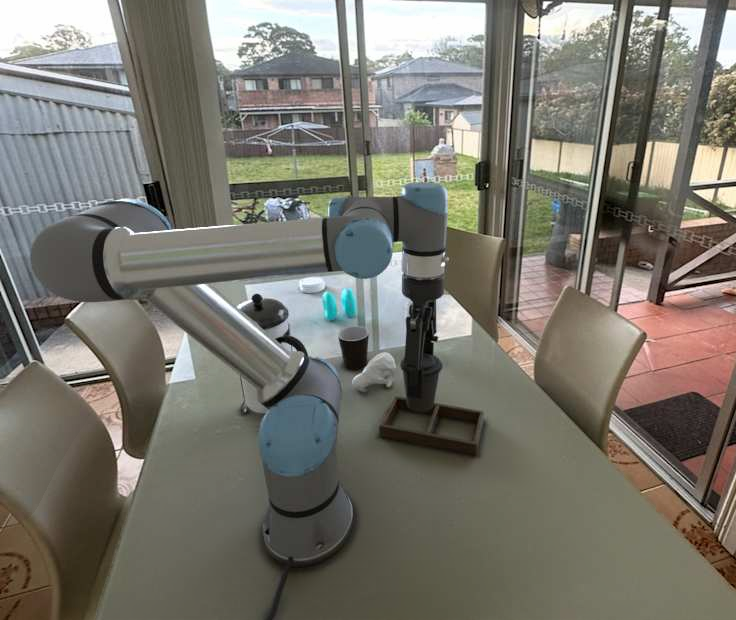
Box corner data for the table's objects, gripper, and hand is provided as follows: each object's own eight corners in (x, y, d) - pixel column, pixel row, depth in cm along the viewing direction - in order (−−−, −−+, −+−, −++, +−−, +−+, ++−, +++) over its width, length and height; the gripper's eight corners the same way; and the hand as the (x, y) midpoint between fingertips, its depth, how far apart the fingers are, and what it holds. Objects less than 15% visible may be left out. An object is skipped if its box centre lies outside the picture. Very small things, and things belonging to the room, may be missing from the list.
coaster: (297, 286, 181) (297, 278, 180) (321, 282, 185) (321, 274, 184) (302, 295, 173) (302, 286, 171) (327, 290, 176) (327, 282, 175)
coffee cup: (394, 412, 84) (394, 367, 81) (406, 388, 92) (406, 345, 88) (435, 420, 82) (437, 374, 79) (444, 394, 90) (446, 352, 86)
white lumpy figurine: (397, 356, 113) (355, 374, 108) (400, 383, 117) (360, 401, 111) (385, 345, 118) (344, 362, 113) (389, 371, 122) (349, 389, 116)
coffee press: (237, 433, 100) (214, 314, 89) (243, 392, 114) (224, 285, 103) (315, 419, 104) (303, 304, 93) (311, 381, 118) (300, 277, 107)
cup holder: (476, 456, 93) (476, 444, 92) (379, 436, 98) (379, 425, 97) (483, 421, 103) (484, 411, 102) (395, 406, 108) (395, 395, 107)
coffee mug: (365, 374, 121) (363, 342, 118) (335, 370, 123) (333, 339, 119) (376, 352, 132) (375, 322, 128) (349, 349, 134) (347, 320, 130)
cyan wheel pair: (357, 320, 152) (356, 294, 148) (328, 325, 148) (326, 298, 145) (350, 309, 160) (348, 283, 157) (323, 313, 157) (320, 288, 153)
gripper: (431, 299, 67) (427, 421, 75) (454, 257, 85) (449, 358, 94) (383, 293, 68) (385, 413, 77) (417, 253, 87) (415, 353, 95)
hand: (420, 383), depth 85 cm, fingers closed on coffee cup, 8 cm apart
